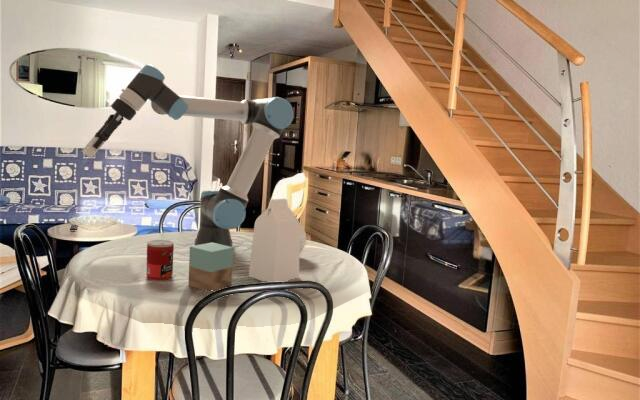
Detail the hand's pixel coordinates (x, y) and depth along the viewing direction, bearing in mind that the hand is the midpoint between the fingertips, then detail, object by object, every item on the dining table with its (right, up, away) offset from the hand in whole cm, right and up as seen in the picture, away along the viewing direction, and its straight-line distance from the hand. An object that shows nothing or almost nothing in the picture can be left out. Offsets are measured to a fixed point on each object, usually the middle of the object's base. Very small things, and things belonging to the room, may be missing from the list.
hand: (86, 154), depth 157 cm
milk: (+61, -40, +2) cm, 73 cm away
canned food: (+26, -39, -6) cm, 47 cm away
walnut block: (+43, -41, -11) cm, 60 cm away
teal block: (+43, -35, -12) cm, 57 cm away
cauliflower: (+62, -37, +27) cm, 77 cm away
